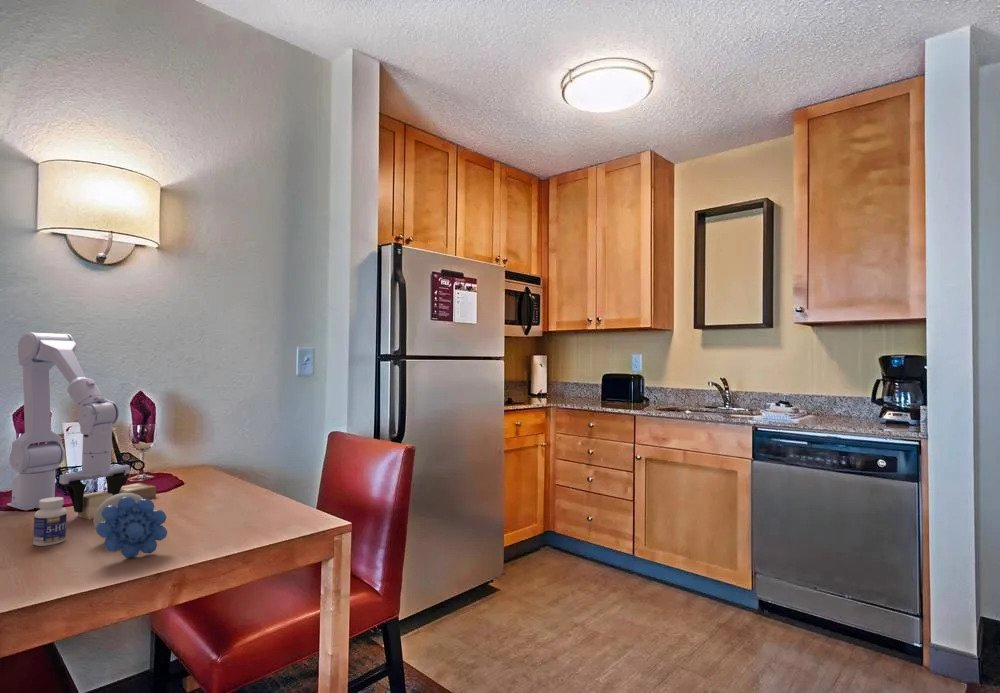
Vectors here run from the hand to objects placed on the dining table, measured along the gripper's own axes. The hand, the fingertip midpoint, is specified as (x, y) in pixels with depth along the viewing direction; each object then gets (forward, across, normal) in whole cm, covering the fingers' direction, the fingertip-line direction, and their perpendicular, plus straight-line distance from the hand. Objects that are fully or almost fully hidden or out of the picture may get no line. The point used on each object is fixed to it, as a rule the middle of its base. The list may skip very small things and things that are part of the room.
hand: (95, 508), depth 135 cm
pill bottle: (+2, -15, -13) cm, 20 cm away
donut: (+2, -7, -24) cm, 25 cm away
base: (+2, +13, +8) cm, 15 cm away
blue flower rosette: (+2, -12, -37) cm, 39 cm away
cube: (+2, 0, 0) cm, 2 cm away
